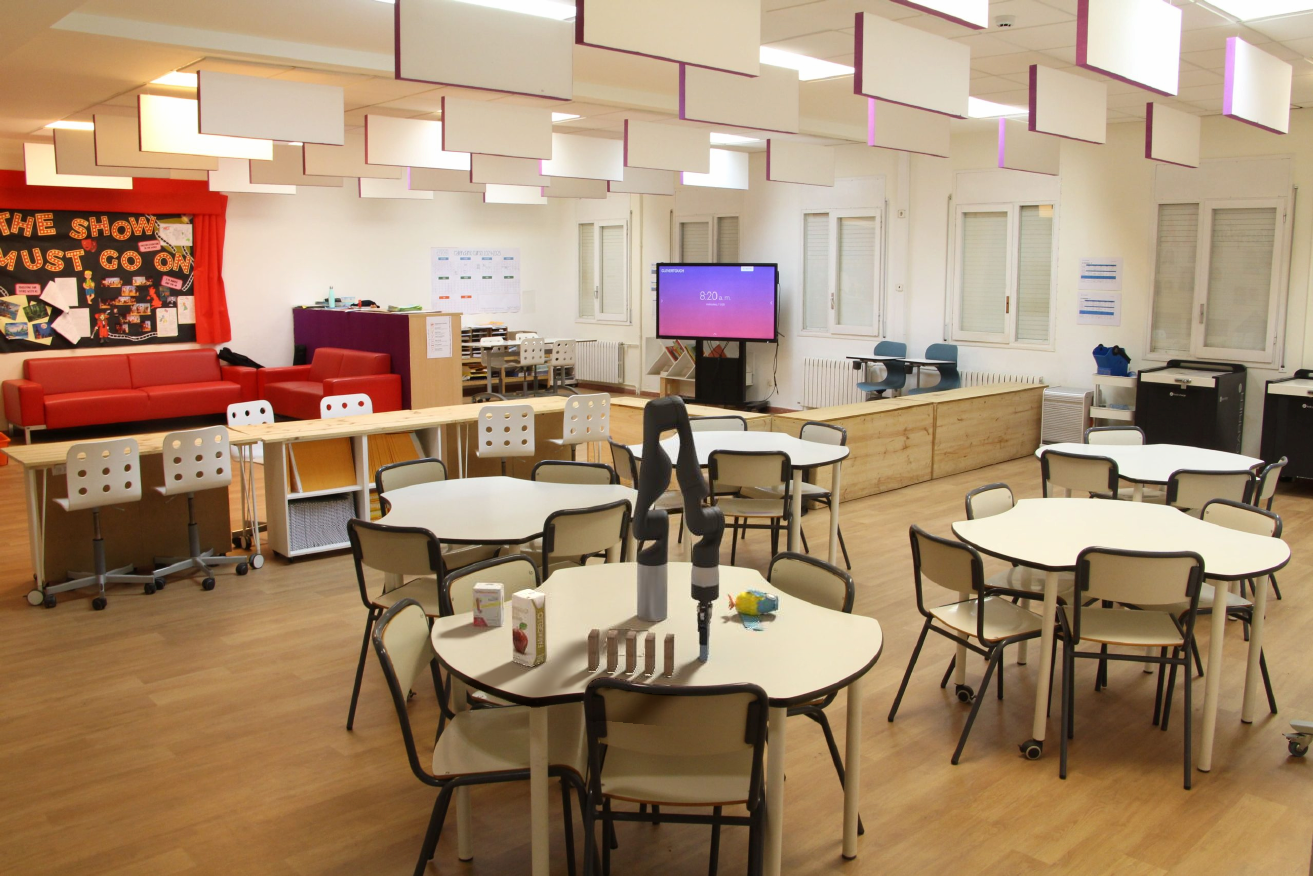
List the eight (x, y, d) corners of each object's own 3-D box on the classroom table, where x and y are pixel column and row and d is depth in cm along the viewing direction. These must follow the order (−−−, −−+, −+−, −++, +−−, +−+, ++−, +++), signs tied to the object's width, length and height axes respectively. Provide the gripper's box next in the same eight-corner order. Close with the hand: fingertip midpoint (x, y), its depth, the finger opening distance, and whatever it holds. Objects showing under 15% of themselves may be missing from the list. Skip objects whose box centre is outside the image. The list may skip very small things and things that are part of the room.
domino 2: (610, 666, 262) (610, 630, 260) (618, 666, 262) (618, 630, 260) (606, 673, 257) (606, 636, 255) (614, 673, 257) (614, 637, 255)
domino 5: (666, 669, 260) (666, 633, 258) (673, 670, 259) (674, 634, 258) (663, 677, 255) (664, 640, 253) (671, 677, 255) (671, 640, 253)
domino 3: (629, 667, 261) (629, 631, 260) (636, 667, 261) (636, 631, 259) (625, 674, 256) (625, 638, 255) (633, 675, 256) (633, 638, 254)
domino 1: (592, 664, 263) (592, 629, 261) (599, 665, 262) (599, 629, 261) (588, 672, 258) (587, 635, 256) (595, 672, 258) (595, 636, 256)
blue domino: (701, 654, 270) (701, 619, 269) (708, 654, 270) (709, 620, 268) (699, 661, 265) (699, 626, 264) (706, 661, 265) (707, 626, 263)
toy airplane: (723, 575, 314) (769, 576, 315) (721, 601, 315) (768, 602, 316) (735, 605, 286) (787, 605, 287) (734, 633, 288) (785, 633, 289)
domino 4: (647, 668, 260) (647, 632, 259) (655, 668, 260) (655, 632, 259) (644, 676, 256) (644, 639, 254) (652, 676, 255) (652, 639, 254)
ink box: (472, 626, 291) (471, 587, 289) (476, 620, 296) (475, 582, 294) (501, 627, 290) (500, 588, 288) (504, 621, 295) (504, 583, 293)
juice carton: (529, 653, 270) (528, 586, 267) (551, 661, 265) (550, 593, 262) (508, 661, 265) (507, 593, 261) (530, 669, 259) (529, 600, 256)
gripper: (694, 572, 272) (693, 631, 274) (688, 588, 258) (687, 650, 260) (721, 573, 270) (720, 632, 273) (716, 589, 257) (715, 652, 259)
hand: (704, 640), depth 267 cm, fingers closed on blue domino, 5 cm apart
